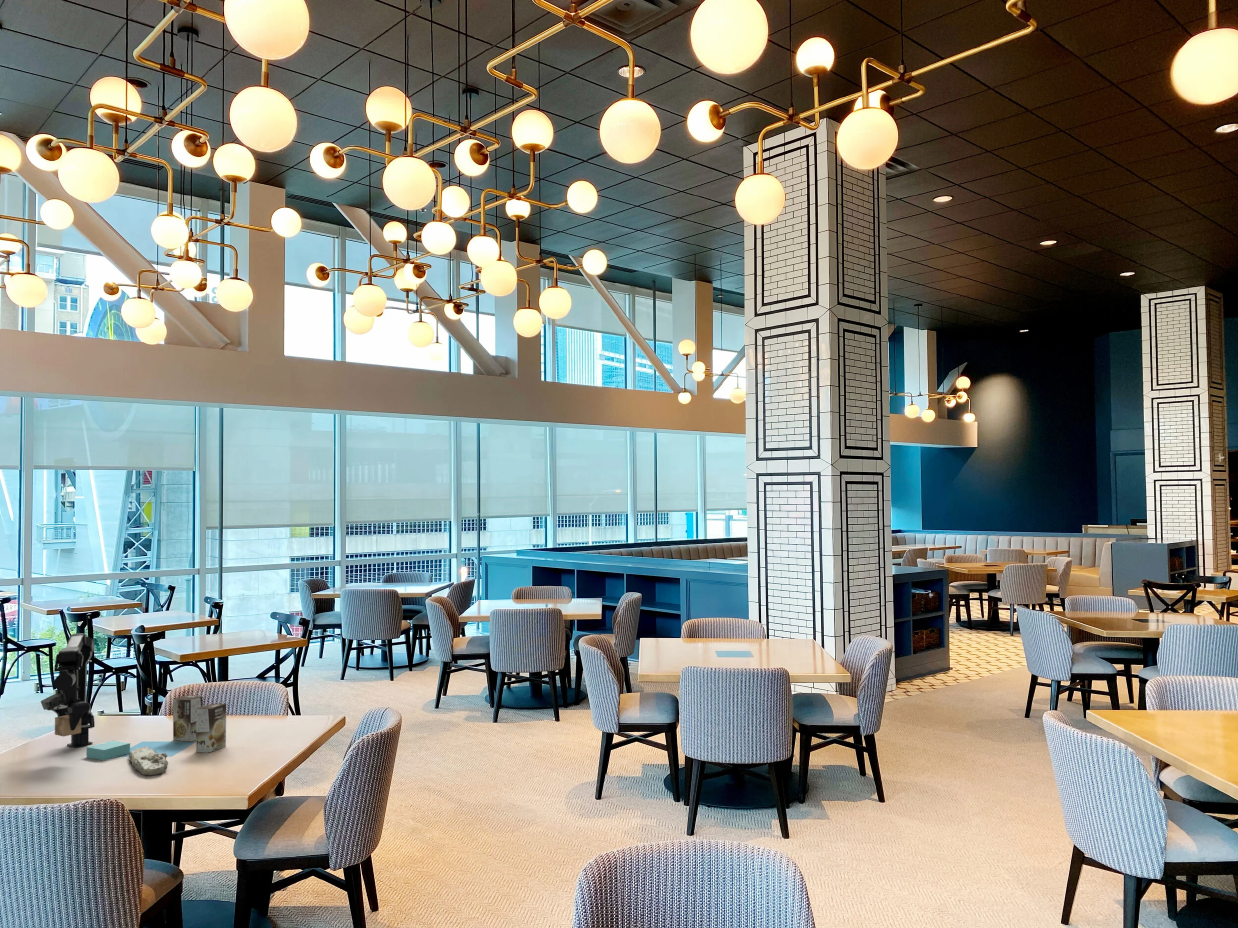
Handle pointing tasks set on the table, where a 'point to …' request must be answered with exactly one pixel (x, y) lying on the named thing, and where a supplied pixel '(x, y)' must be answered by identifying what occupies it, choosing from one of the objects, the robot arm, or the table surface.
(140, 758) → the long grey stone
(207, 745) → the coffee box
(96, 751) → the teal plinth
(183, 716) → the coffee box
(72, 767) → the table surface
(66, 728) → the walnut block
